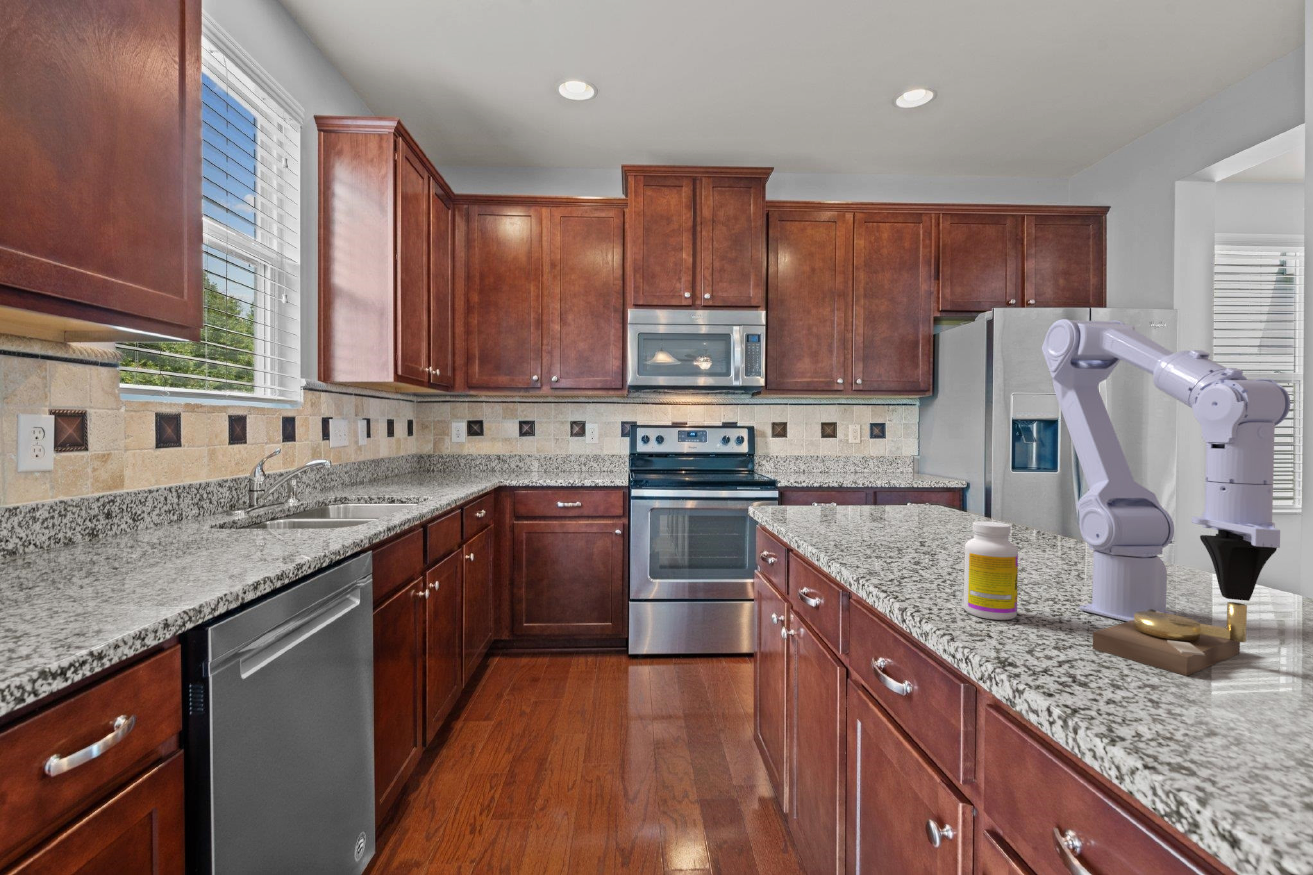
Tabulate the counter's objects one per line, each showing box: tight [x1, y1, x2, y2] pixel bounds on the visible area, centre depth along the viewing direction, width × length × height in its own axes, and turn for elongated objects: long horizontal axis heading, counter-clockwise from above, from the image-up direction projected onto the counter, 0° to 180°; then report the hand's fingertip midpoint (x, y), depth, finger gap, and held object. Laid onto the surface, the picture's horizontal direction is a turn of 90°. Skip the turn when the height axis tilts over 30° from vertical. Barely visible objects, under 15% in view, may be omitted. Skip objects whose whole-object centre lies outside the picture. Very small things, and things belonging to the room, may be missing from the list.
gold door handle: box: [1134, 601, 1248, 643], centre depth 71 cm, size 10×6×4 cm, turn 49°
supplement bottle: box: [963, 520, 1019, 621], centre depth 85 cm, size 7×7×13 cm
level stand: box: [1092, 609, 1241, 677], centre depth 72 cm, size 14×10×4 cm
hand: (1235, 598), depth 71 cm, fingers closed
